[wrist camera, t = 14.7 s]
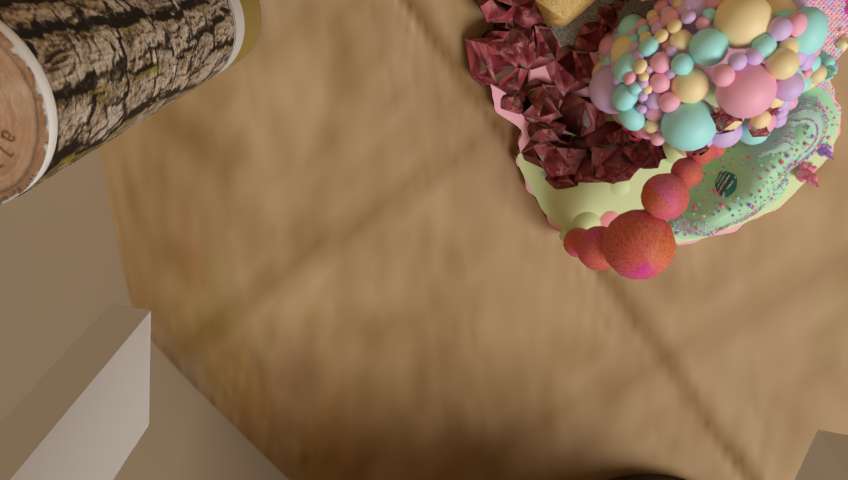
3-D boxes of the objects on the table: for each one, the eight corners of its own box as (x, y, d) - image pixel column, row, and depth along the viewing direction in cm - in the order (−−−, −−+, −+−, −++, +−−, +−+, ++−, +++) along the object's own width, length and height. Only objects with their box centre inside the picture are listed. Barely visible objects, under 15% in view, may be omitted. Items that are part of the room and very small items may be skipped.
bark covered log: (271, 63, 47) (73, 206, 24) (167, 69, 48) (-122, 213, 25) (255, -52, 45) (16, -14, 22) (145, -46, 45) (-202, -1, 22)
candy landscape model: (404, -40, 45) (385, -29, 36) (799, -282, 39) (888, -335, 30) (584, 292, 52) (603, 366, 44) (936, 135, 46) (1037, 186, 38)
